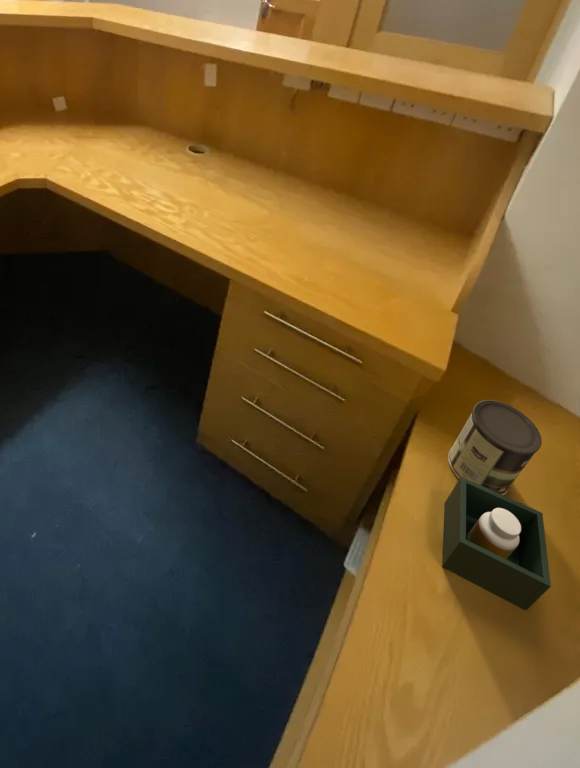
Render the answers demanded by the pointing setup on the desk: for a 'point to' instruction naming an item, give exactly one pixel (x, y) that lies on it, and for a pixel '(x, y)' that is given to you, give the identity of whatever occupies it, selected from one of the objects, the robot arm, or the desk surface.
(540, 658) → the desk surface
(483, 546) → the supplement bottle
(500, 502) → the bin
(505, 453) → the coffee can
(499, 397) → the desk surface
